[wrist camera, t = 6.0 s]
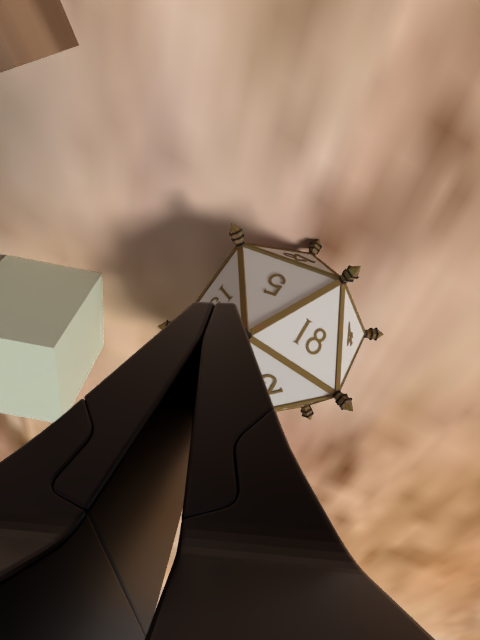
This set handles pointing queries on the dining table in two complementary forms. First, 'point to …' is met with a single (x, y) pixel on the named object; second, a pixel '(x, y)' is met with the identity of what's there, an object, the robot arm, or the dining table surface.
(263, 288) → the game die
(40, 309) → the sage block
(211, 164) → the dining table surface
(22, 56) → the walnut cube
